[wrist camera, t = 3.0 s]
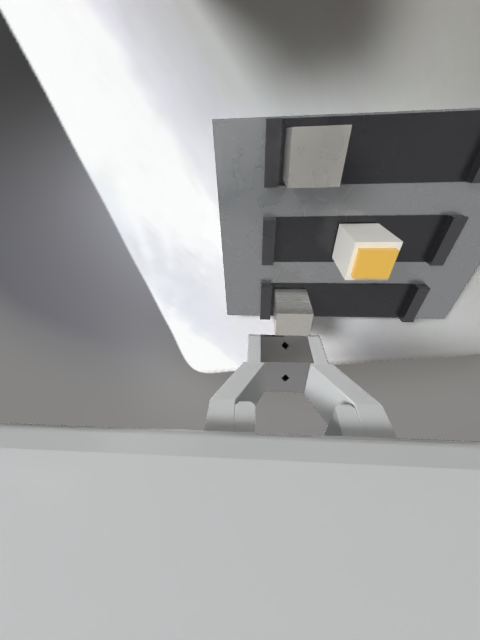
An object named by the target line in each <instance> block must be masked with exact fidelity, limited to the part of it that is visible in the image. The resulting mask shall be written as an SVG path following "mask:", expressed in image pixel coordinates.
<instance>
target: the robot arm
mask: <svg viewBox="0 0 480 640" xmlns="http://www.w3.org/2000/svg"><path fill="white" fill-rule="evenodd" d="M264 392H293V393H294V392H295V393H304V395H305V396H306V398H307V399H308V400H309V401H310V403H311V404H312V405H313V406H314V408H315V409H316V410H317V411H318V413H319V414H320V415H321V416H322V418H323V419H324V420H325V422H326V423H327V424H328V427H327V430H326V432H325V435H300V434H275V433H274V434H273V433H255V406H256V404H257V403H258V401H259V400H260V398H261V396H262V395H263V393H264ZM0 640H480V441H454V440H430V439H404V438H397V436H396V434H395V432H394V430H393V427H392V425H391V423H390V421H389V419H388V417H387V415H386V413H385V410H384V408H383V406H382V405H381V404H380V403H379V402H378V401H376V400H375V399H374V398H373V397H371V396H370V395H369V394H368V393H367V392H366V391H364V390H363V389H362V388H361V387H360V386H358V385H357V384H356V383H355V382H354V381H352V380H351V379H350V378H349V377H347V376H346V375H345V374H344V373H343V372H341V371H340V370H339V369H338V368H337V367H335V366H334V365H333V364H329V363H328V360H327V357H326V354H325V351H324V348H323V345H322V342H321V339H320V337H319V336H318V335H306V336H290V335H261V336H260V335H251V334H249V336H248V358H247V362H244V363H243V364H242V365H241V366H240V367H239V368H238V369H237V370H236V371H235V372H234V374H233V375H232V376H231V377H230V378H229V379H228V380H227V381H226V382H225V383H224V385H223V386H222V387H221V388H220V389H219V390H218V391H217V392H216V393H215V395H213V397H212V398H211V399H210V402H209V408H208V413H207V419H206V424H205V430H204V431H199V430H198V431H197V430H172V429H148V428H121V427H96V426H72V425H45V424H21V423H0Z"/></svg>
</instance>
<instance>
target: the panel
mask: <svg viewBox="0 0 480 640" xmlns="http://www.w3.org/2000/svg"><path fill="white" fill-rule="evenodd" d="M212 123H213V136H214V149H215V161H216V174H217V187H218V200H219V213H220V225H221V238H222V251H223V264H224V276H225V289H226V302H227V315H260V319H270V316H273V319H274V333H275V335H290V336H306V335H310V330H311V325H312V320H313V316H328V317H390V318H400V320H401V321H402V322H413V320H414V318H445V317H446V315H447V314H448V312H449V311H450V309H451V308H452V306H453V304H454V303H455V301H456V300H457V298H458V297H459V295H460V294H461V292H462V290H463V289H464V287H465V286H466V284H467V283H468V281H469V279H470V278H471V276H472V275H473V273H474V272H475V270H476V269H477V267H478V265H479V264H480V108H468V109H445V110H421V111H398V112H375V113H351V114H328V115H304V116H281V117H258V118H234V119H212ZM369 223H379V224H380V225H382V226H383V227H384V228H386V229H387V230H388V231H390V232H391V233H392V234H394V235H395V236H396V237H398V238H399V239H400V240H401V241H403V244H402V246H401V249H400V251H399V254H398V256H397V259H396V261H395V264H394V266H393V269H392V271H391V274H390V276H389V279H388V280H345V279H344V278H343V276H342V274H341V272H340V271H339V269H338V267H337V265H336V264H335V262H334V260H333V259H332V255H333V250H334V246H335V241H336V237H337V232H338V228H339V224H369Z"/></svg>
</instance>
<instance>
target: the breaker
mask: <svg viewBox="0 0 480 640" xmlns="http://www.w3.org/2000/svg"><path fill="white" fill-rule="evenodd" d="M402 244H403V241H401V240H400V239H399V238H398V237H396V236H395V235H394V234H392V233H391V232H390V231H388V230H387V229H386V228H384V227H383V226H382V225H380V224H379V223H369V224H339V228H338V232H337V237H336V241H335V246H334V250H333V255H332V259H333V260H334V262H335V264H336V265H337V267H338V269H339V271H340V272H341V274H342V276H343V278H344V279H345V280H388V279H389V276H390V274H391V271H392V269H393V266H394V264H395V261H396V259H397V256H398V254H399V251H400V249H401V246H402Z"/></svg>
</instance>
